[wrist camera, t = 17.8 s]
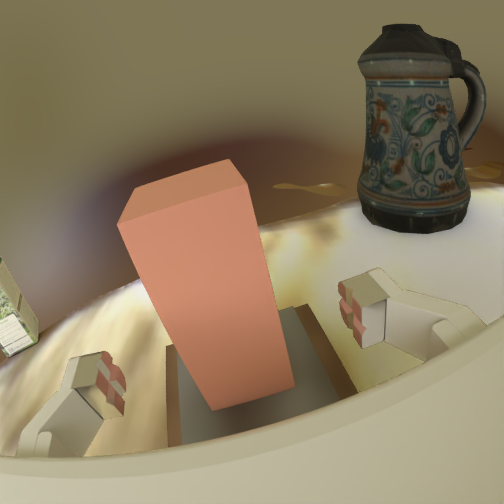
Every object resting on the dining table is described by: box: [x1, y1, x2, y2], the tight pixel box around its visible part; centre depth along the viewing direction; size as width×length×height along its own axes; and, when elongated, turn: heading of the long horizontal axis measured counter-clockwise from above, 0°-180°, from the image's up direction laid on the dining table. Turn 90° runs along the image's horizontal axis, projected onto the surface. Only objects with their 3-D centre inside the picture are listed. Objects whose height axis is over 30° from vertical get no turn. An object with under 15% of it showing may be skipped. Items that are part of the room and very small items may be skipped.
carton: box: [117, 159, 295, 411], centre depth 16 cm, size 5×5×12 cm
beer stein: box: [357, 24, 486, 234], centre depth 35 cm, size 17×19×25 cm
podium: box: [166, 304, 358, 448], centre depth 20 cm, size 12×12×4 cm
